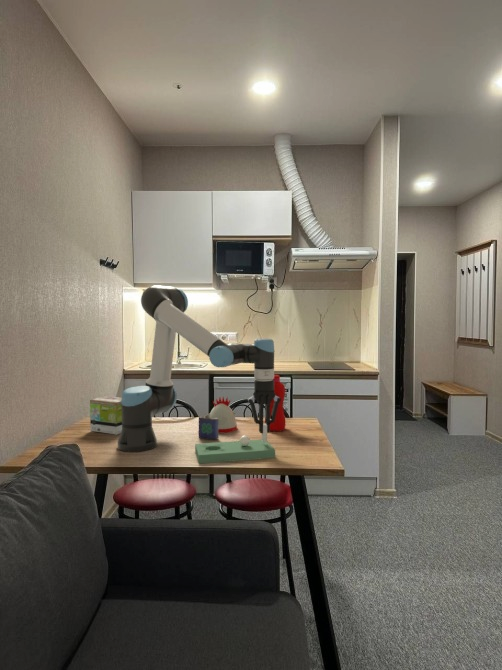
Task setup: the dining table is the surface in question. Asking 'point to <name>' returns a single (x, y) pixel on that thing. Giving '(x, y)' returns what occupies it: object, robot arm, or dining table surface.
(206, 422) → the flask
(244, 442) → the ball
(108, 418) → the tea box
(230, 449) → the putting mat
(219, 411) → the kitchen timer
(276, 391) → the water bottle
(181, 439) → the dining table surface
